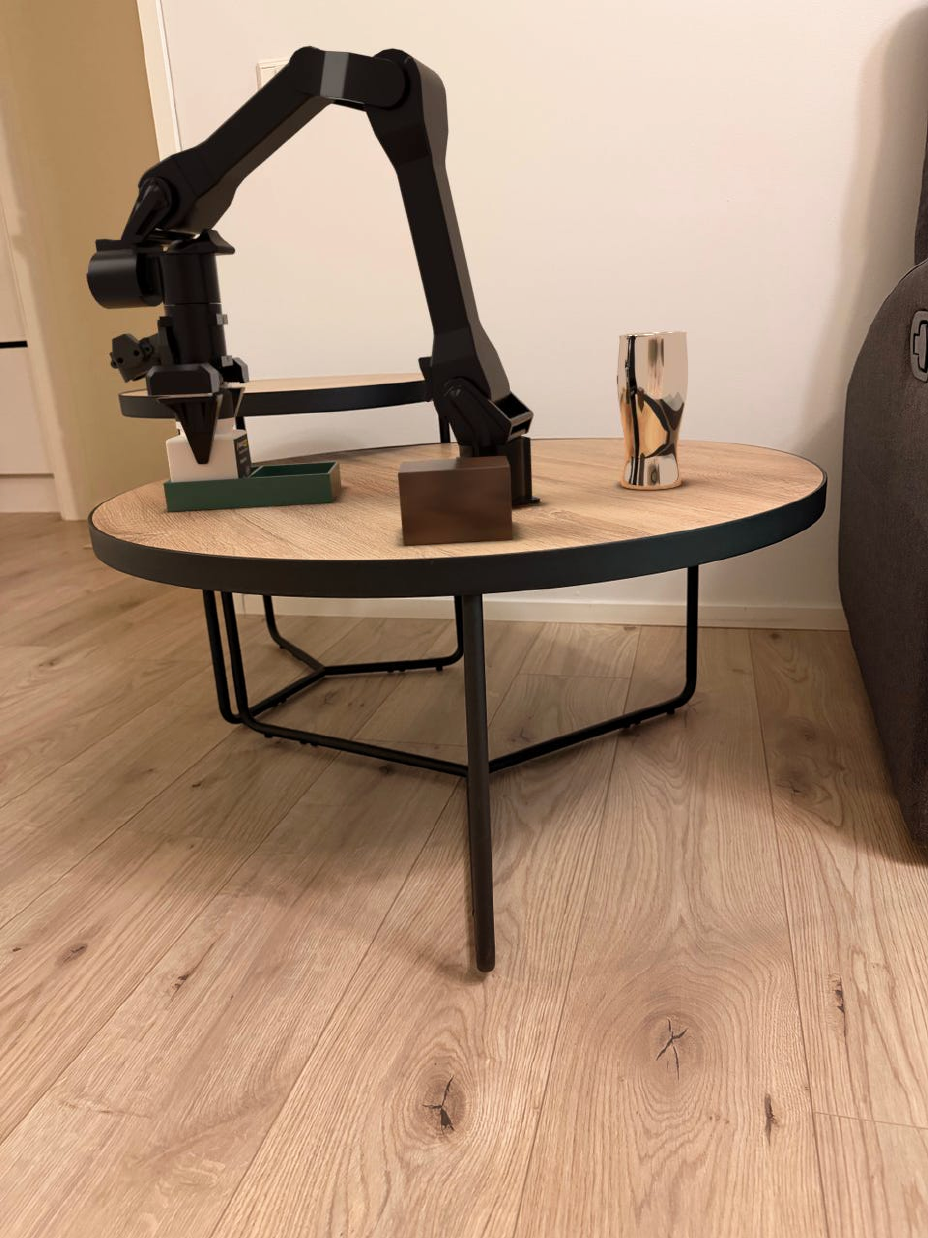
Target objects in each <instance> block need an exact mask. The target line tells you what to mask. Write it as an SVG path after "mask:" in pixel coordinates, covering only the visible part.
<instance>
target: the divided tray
mask: <svg viewBox="0 0 928 1238" xmlns="http://www.w3.org/2000/svg"><path fill="white" fill-rule="evenodd" d="M251 472H252V473H251V474H250V475H249V476H248V477H246V478H238V479H220V480H203V481H186V482H172V481H171V478H170V479H168V480H166V481H164V482H163V490H164V497H165V503H166V509H167V510H166V511H167V512H168V513H171V512H187V511H206V510H221V509H239V508H241V509H242V508H259V507H273V506H294V505H308V504H327V503H333V502H334V500H335V499H336V498H337V496H338V495H339V493H340V491H341V489H342V479H341V467H340V461H323V462H319V461H318V462H305V463H288V464H287V463H286V464H270V465H251Z"/></svg>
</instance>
